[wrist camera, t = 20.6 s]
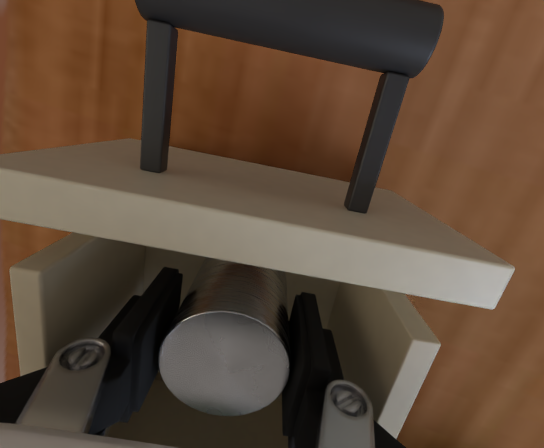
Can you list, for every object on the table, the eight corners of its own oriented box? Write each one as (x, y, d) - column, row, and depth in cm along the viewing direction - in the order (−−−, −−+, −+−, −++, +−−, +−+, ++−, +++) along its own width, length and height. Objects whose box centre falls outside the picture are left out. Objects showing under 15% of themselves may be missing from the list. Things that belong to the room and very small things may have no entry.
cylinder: (220, 225, 14) (185, 289, 8) (301, 262, 14) (315, 344, 9) (187, 296, 15) (139, 389, 10) (263, 327, 15) (256, 433, 10)
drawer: (134, 0, 12) (-104, -197, 4) (434, 67, 12) (662, -9, 5) (120, 367, 18) (11, 539, 11) (321, 400, 19) (351, 585, 11)
